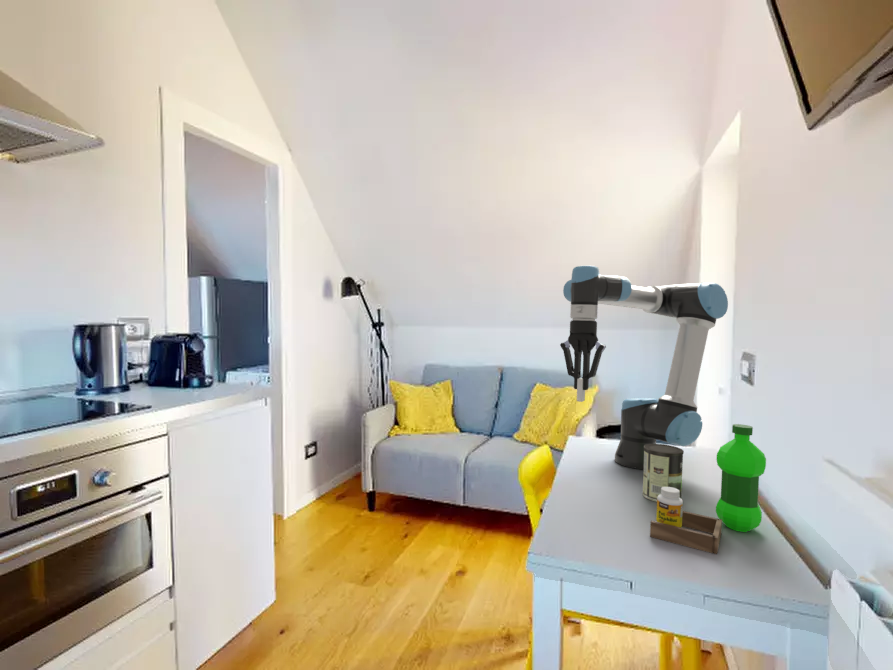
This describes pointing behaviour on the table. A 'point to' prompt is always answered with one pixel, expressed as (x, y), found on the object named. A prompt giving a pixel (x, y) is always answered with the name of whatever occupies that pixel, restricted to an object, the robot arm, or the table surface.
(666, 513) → the supplement bottle
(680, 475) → the coffee can
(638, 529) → the table surface
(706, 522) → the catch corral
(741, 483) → the plastic bottle
